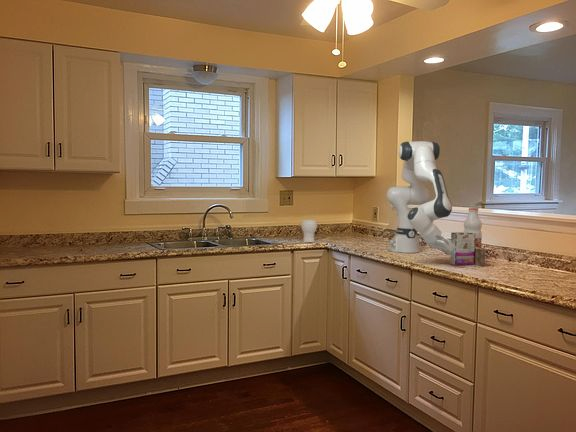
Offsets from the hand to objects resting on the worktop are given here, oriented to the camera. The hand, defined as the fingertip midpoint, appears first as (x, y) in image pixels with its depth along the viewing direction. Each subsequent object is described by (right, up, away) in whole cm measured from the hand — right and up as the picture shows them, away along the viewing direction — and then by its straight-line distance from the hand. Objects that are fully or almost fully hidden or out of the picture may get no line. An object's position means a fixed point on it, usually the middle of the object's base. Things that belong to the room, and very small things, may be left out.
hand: (449, 253), depth 246 cm
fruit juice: (+18, -5, +19) cm, 27 cm away
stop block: (+14, -5, +5) cm, 15 cm away
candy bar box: (+7, -6, +2) cm, 9 cm away
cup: (-67, +1, +86) cm, 109 cm away
